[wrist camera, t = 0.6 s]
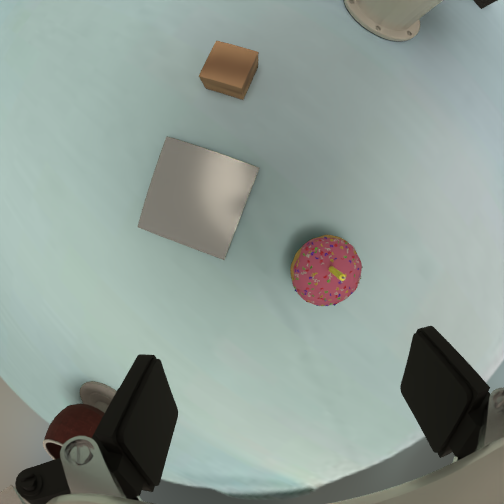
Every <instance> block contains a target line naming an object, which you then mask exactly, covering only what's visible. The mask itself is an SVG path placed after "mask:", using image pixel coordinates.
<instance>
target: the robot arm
mask: <svg viewBox="0 0 504 504" xmlns="http://www.w3.org/2000/svg"><path fill="white" fill-rule="evenodd" d="M442 1H443V0H344V3H345V5H346V8H347V9H348V11H349V12H350V14H351V15H352V16H353V17H354V19H355V20H356V21H357V22H359V23H360V24H361V25H362V26H363V27H365V28H366V29H367V30H369V31H370V32H372V33H374V34H376V35H378V36H380V37H382V38H385V39H388V40H392V41H407V40H410V39H411V38H413V37H414V36H415V35H417V33H418V32H419V29H420V18H421V17H422V16H424V15H425V14H426V13H427V12H429V11H430V10H431V9H433V8H434V7H435V6H436V5H438V4H439V3H440V2H442ZM489 389H490V387H489V386H488V385H487V384H486V382H485V381H484V380H483V379H482V378H481V377H480V376H479V374H478V373H477V372H476V371H475V370H474V369H473V368H472V367H471V366H470V365H469V363H468V362H467V361H466V360H465V359H464V358H463V357H462V356H461V355H460V354H459V353H458V352H457V351H456V350H455V349H454V347H453V346H452V345H451V344H450V343H449V342H448V341H447V340H446V339H445V338H444V337H443V336H442V335H441V334H440V333H439V332H438V331H437V330H436V329H435V328H434V327H433V326H428V327H424V328H420V329H418V330H417V332H416V333H415V334H414V335H413V339H412V343H411V348H410V352H409V356H408V360H407V364H406V368H405V372H404V375H403V379H402V382H401V393H402V395H403V397H404V399H405V400H406V402H407V404H408V406H409V407H410V409H411V411H412V413H413V414H414V416H415V418H416V420H417V422H418V424H419V425H420V427H421V429H422V431H423V433H424V435H425V436H426V438H427V440H428V442H429V444H430V446H431V448H432V449H433V451H434V452H436V453H438V455H439V457H440V458H441V457H444V456H445V455H448V454H450V453H451V452H453V453H454V455H455V456H454V460H453V463H452V464H450V465H447V466H445V467H443V468H441V469H439V470H436V471H434V472H432V473H429V474H427V475H425V476H422V477H420V478H417V479H415V480H412V481H409V482H407V483H404V484H401V485H398V486H395V487H392V488H389V489H386V490H382V491H379V492H375V493H372V494H368V495H365V496H361V497H357V498H353V499H348V500H343V501H339V502H334V503H328V504H504V388H498V389H496V390H494V391H493V392H492V393H491V394H490V393H489V392H488V391H489ZM177 418H178V409H177V406H176V403H175V401H174V398H173V395H172V393H171V390H170V387H169V384H168V381H167V378H166V375H165V372H164V369H163V366H162V363H161V361H160V359H156V357H155V356H154V355H138V356H137V358H136V360H135V361H134V363H133V365H132V367H131V368H130V370H129V372H128V374H127V375H126V377H125V379H124V381H123V383H122V384H121V386H120V388H119V389H118V390H117V392H116V394H115V395H114V397H113V399H112V401H111V403H110V404H109V406H108V408H107V410H106V412H105V414H104V415H103V417H102V419H101V421H100V423H99V425H98V427H97V429H96V430H95V432H94V434H93V436H92V438H89V437H87V436H76V437H73V438H71V439H69V440H68V441H66V442H65V443H64V445H63V446H62V448H61V451H60V458H58V459H55V460H52V461H49V462H46V463H43V464H41V465H37V466H34V467H31V468H28V469H25V470H23V471H22V472H21V473H19V475H18V477H17V478H16V487H13V486H12V485H10V486H9V487H7V488H6V489H4V490H3V491H1V492H0V504H153V503H148V502H143V501H142V500H141V499H140V497H139V495H140V494H141V490H145V491H151V492H153V490H154V487H155V486H158V485H159V483H160V480H161V476H162V472H163V469H164V465H165V461H166V458H167V454H168V450H169V447H170V443H171V439H172V436H173V432H174V428H175V425H176V421H177Z"/></svg>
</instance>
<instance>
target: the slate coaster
mask: <svg viewBox="0 0 504 504" xmlns="http://www.w3.org/2000/svg"><path fill="white" fill-rule="evenodd" d="M258 171H259V168H258V167H255V166H253V165H250V164H247V163H245V162H242V161H239V160H237V159H234V158H231V157H228V156H225V155H223V154H220V153H217V152H214V151H211V150H208V149H205V148H202V147H199V146H196V145H193V144H190V143H187V142H183V141H180V140H177V139H174V138H170V137H166V140H165V142H164V145H163V148H162V150H161V153H160V156H159V159H158V162H157V165H156V168H155V171H154V174H153V177H152V180H151V183H150V186H149V189H148V192H147V196H146V199H145V202H144V206H143V209H142V213H141V216H140V220H139V224H138V227H139V228H141V229H144V230H147V231H149V232H152V233H154V234H157V235H159V236H162V237H165V238H167V239H170V240H173V241H175V242H178V243H180V244H183V245H186V246H188V247H191V248H194V249H196V250H199V251H202V252H204V253H207V254H210V255H212V256H215V257H218V258H220V259H223V260H224V259H225V257H226V254H227V251H228V249H229V246H230V243H231V241H232V238H233V235H234V233H235V230H236V227H237V225H238V222H239V220H240V217H241V214H242V212H243V209H244V207H245V204H246V201H247V199H248V196H249V194H250V191H251V189H252V186H253V184H254V181H255V178H256V176H257V173H258Z"/></svg>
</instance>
